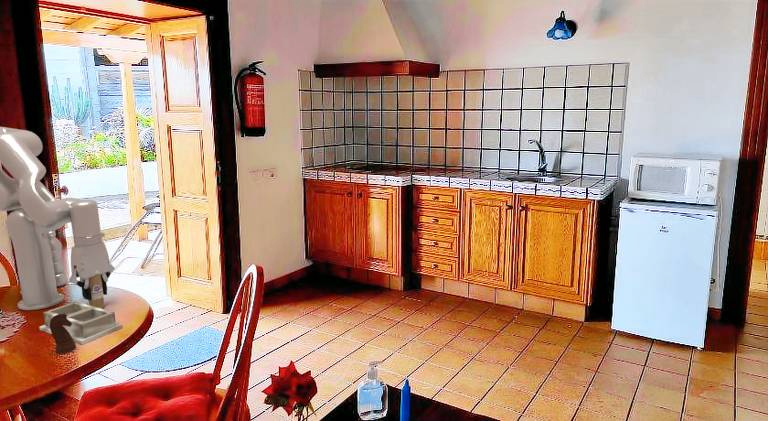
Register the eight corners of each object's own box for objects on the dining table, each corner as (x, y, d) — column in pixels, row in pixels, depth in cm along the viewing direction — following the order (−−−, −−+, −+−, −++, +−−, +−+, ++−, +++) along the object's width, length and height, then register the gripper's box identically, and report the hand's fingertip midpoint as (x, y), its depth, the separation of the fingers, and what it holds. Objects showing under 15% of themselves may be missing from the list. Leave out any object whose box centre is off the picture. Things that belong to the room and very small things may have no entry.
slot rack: (39, 330, 154) (37, 313, 153) (80, 315, 164) (78, 299, 163) (82, 344, 144) (79, 327, 143) (122, 327, 154) (120, 311, 153)
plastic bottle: (58, 289, 186) (49, 233, 182) (41, 288, 188) (32, 232, 184) (72, 283, 193) (64, 229, 188) (56, 282, 194) (48, 228, 190)
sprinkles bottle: (94, 311, 167) (89, 269, 164) (85, 308, 169) (80, 267, 166) (108, 306, 170) (103, 265, 168) (99, 304, 173) (94, 263, 170)
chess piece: (75, 351, 140) (70, 315, 138) (52, 355, 138) (47, 319, 136) (76, 344, 144) (71, 309, 142) (54, 348, 142) (49, 312, 140)
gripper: (105, 232, 174) (112, 286, 178) (53, 245, 160) (61, 303, 163) (120, 235, 170) (127, 290, 174) (67, 248, 156) (76, 308, 160)
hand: (95, 296), depth 169 cm, fingers closed on sprinkles bottle, 4 cm apart
